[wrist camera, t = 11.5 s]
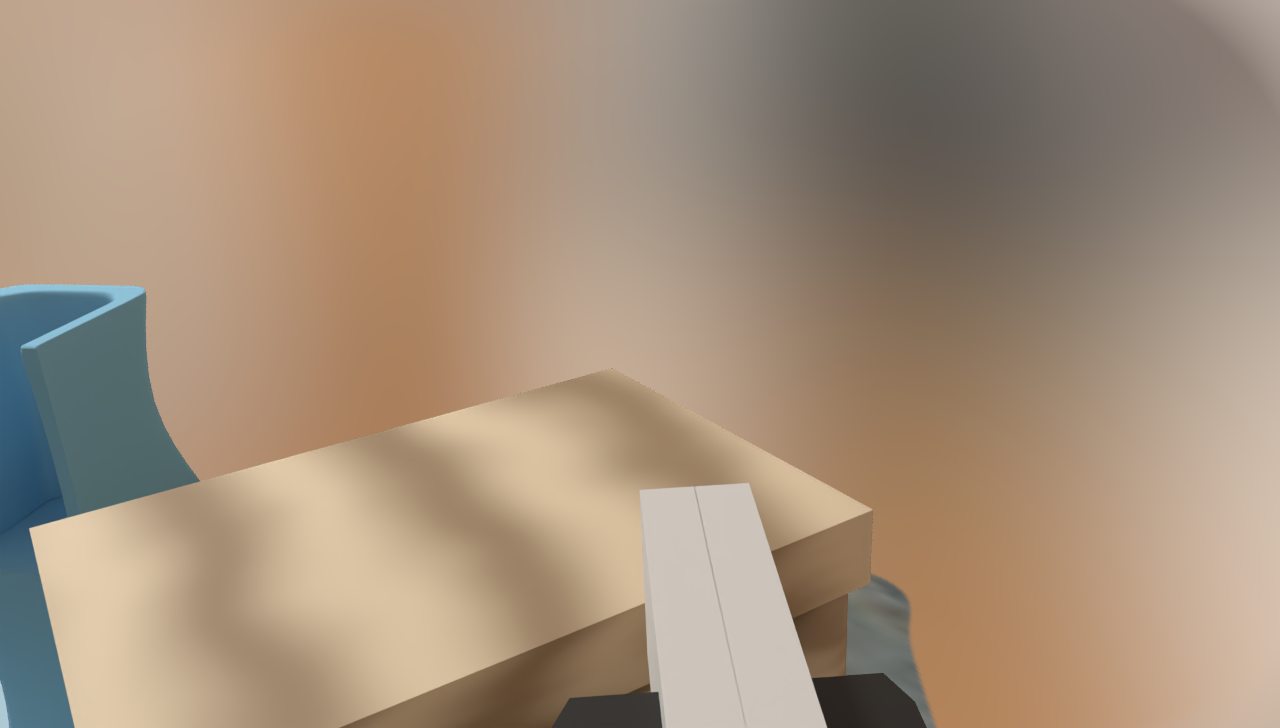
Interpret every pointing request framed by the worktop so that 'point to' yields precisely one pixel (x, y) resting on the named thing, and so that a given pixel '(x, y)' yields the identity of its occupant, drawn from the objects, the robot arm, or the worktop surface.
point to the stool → (422, 571)
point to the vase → (67, 456)
